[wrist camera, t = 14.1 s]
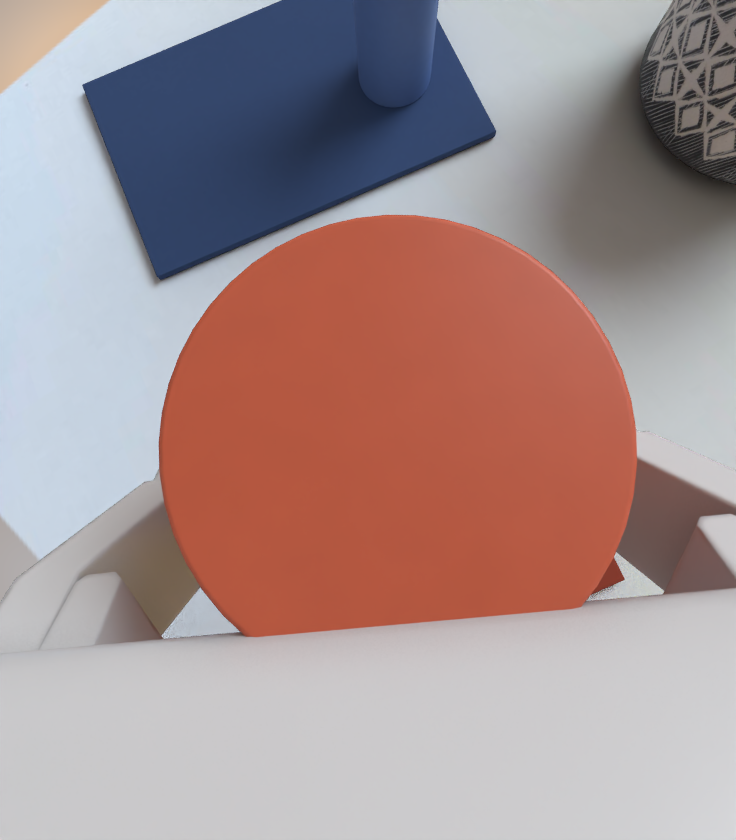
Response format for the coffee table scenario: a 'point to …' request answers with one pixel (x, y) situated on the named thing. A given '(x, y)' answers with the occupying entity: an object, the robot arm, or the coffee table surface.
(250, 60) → the blue mat
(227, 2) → the coffee table surface
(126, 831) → the robot arm
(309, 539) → the red peg
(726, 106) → the planter
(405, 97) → the blue peg
